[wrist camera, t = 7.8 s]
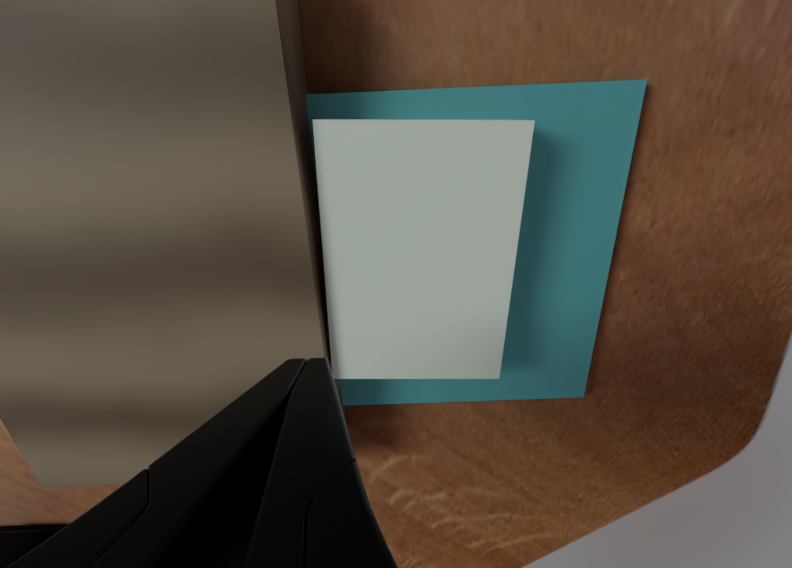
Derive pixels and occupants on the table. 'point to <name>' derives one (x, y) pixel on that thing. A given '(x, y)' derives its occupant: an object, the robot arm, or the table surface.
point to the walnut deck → (150, 223)
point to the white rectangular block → (419, 242)
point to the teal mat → (529, 226)
